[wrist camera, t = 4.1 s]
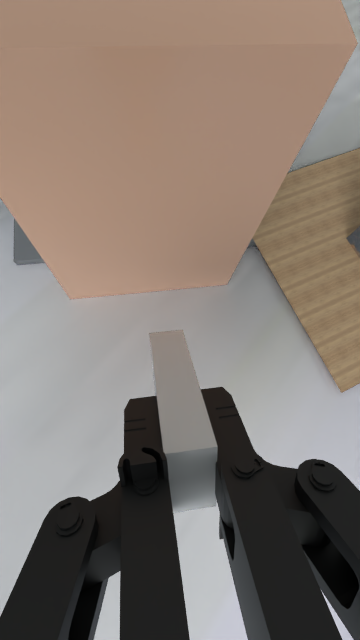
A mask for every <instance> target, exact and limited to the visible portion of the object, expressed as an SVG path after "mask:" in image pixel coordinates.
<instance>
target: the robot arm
mask: <svg viewBox="0 0 360 640" xmlns="http://www.w3.org/2000/svg"><path fill="white" fill-rule="evenodd" d="M149 335H150V346H151V357H152V367H153V378H154V387H155V396H152V397H144V398H136V399H130V400H129V402H128V404H127V406H126V408H125V409H124V454H123V455H122V457H121V458H120V460H119V464H118V472H119V477H120V481H119V482H118V484H117V485H116V486H115V487H114V488H113V489H112V490H111V491H109V492H107V493H106V494H104V495H102V496H100V497H98V498H96V499H94V500H92V501H88V500H87V499H85V498H82V497H71V498H67V499H65V500H63V501H61V502H59V503H58V504H56V505H55V506H54V507H53V508H52V509H51V510H50V511H49V513H48V514H47V516H46V517H45V519H44V521H43V523H42V525H41V528H40V530H39V532H38V534H37V537H36V539H35V541H34V543H33V545H32V548H31V550H30V552H29V554H28V557H27V559H26V561H25V563H24V565H23V568H22V570H21V572H20V574H19V577H18V579H17V581H16V583H15V585H14V588H13V590H12V592H11V594H10V597H9V599H8V601H7V603H6V605H5V608H4V610H3V612H2V614H1V617H0V640H94V635H95V631H96V627H97V623H98V619H99V615H100V611H101V607H102V603H103V599H104V594H105V590H106V586H107V582H108V578H109V577H110V576H112V575H114V574H115V573H117V572H119V571H121V576H120V640H190V639H189V631H188V624H187V616H186V608H185V601H184V593H183V585H182V577H181V570H180V562H179V554H178V547H177V539H176V531H175V524H174V516H173V513H177V512H183V511H189V510H195V509H201V508H207V507H213V506H216V499H217V503H218V507H219V511H220V523H219V537H220V539H224V543H225V547H226V551H227V555H228V559H229V564H230V568H231V572H232V576H233V580H234V584H235V588H236V592H237V596H238V601H239V605H240V609H241V613H242V617H243V621H244V625H245V629H246V633H247V638H248V640H342V638H341V636H340V633H339V631H338V629H337V626H336V624H335V622H334V619H333V617H332V615H331V612H330V610H329V608H328V605H327V603H326V601H325V599H324V596H323V594H322V592H323V593H324V595H325V596H326V598H327V599H328V601H329V602H330V604H331V605H332V607H333V609H334V610H335V612H336V613H337V615H338V616H339V618H340V619H341V621H342V622H343V624H344V625H345V627H346V628H347V630H348V631H349V633H350V635H351V636H352V638H353V639H354V640H360V491H359V490H358V489H357V488H356V487H355V486H354V484H353V483H352V482H351V481H350V480H349V479H348V478H347V477H346V476H345V475H344V474H343V473H342V472H341V471H340V470H339V469H338V468H336V467H335V466H334V465H332V464H330V463H328V462H326V461H323V460H317V459H311V460H306V461H304V462H303V463H302V464H300V465H299V468H298V469H294V468H287V467H280V466H276V465H272V464H270V463H268V462H266V461H265V460H263V459H262V457H260V456H259V455H258V454H257V453H256V452H255V450H254V449H253V447H252V444H251V442H250V439H249V437H248V435H247V432H246V430H245V427H244V425H243V423H242V420H241V418H240V416H239V413H238V411H237V408H236V407H235V403H234V401H233V399H232V396H231V395H230V394H229V393H228V392H227V391H226V390H225V389H224V388H223V387H217V388H209V389H201V390H200V386H199V383H198V380H197V376H196V373H195V370H194V367H193V363H192V360H191V357H190V353H189V350H188V347H187V343H186V340H185V337H184V333H183V330H175V331H166V332H156V333H149ZM321 590H322V592H321Z"/></svg>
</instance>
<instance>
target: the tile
mask: <svg viewBox="0 0 360 640" xmlns="http://www.w3.org/2000/svg"><path fill="white" fill-rule="evenodd" d="M357 44H358V43H357V40H356V38H355V35H354V33H353V30H352V27H351V25H350V22H349V20H348V17H347V15H346V12H345V9H344V7H343V4H342V2H341V0H0V198H1V199H2V201H3V202H4V204H5V205H6V207H7V208H8V209H9V211H10V212H11V214H12V215H13V217H14V218H15V220H16V221H17V223H18V224H19V225H20V227H21V228H22V230H23V231H24V233H25V234H26V236H27V237H28V238H29V240H30V241H31V243H32V244H33V246H34V247H35V249H36V250H37V251H38V253H39V254H40V256H41V257H42V259H43V260H44V262H45V263H46V265H47V266H48V267H49V269H50V270H51V272H52V273H53V275H54V276H55V278H56V279H57V280H58V282H59V283H60V285H61V286H62V288H63V289H64V291H65V292H66V293H67V295H68V296H69V298H70V299H80V298H90V297H101V296H111V295H122V294H133V293H143V292H154V291H165V290H175V289H186V288H196V287H207V286H218V285H227V284H228V282H229V280H230V278H231V276H232V274H233V273H234V271H235V269H236V267H237V265H238V263H239V261H240V260H241V258H242V256H243V254H244V252H245V250H246V249H247V247H248V245H249V243H250V241H251V239H252V238H253V236H254V234H255V232H256V230H257V228H258V226H259V225H260V223H261V221H262V219H263V217H264V215H265V214H266V212H267V210H268V208H269V206H270V204H271V202H272V201H273V199H274V197H275V195H276V193H277V191H278V190H279V188H280V186H281V184H282V182H283V180H284V179H285V177H286V175H287V173H288V171H289V169H290V167H291V166H292V164H293V162H294V160H295V158H296V156H297V155H298V153H299V151H300V149H301V147H302V145H303V143H304V142H305V140H306V138H307V136H308V134H309V132H310V131H311V129H312V127H313V125H314V123H315V121H316V120H317V118H318V116H319V114H320V112H321V110H322V108H323V107H324V105H325V103H326V101H327V99H328V97H329V96H330V94H331V92H332V90H333V88H334V86H335V84H336V83H337V81H338V79H339V77H340V75H341V73H342V72H343V70H344V68H345V66H346V64H347V62H348V61H349V59H350V57H351V55H352V53H353V51H354V49H355V48H356V46H357Z"/></svg>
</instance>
